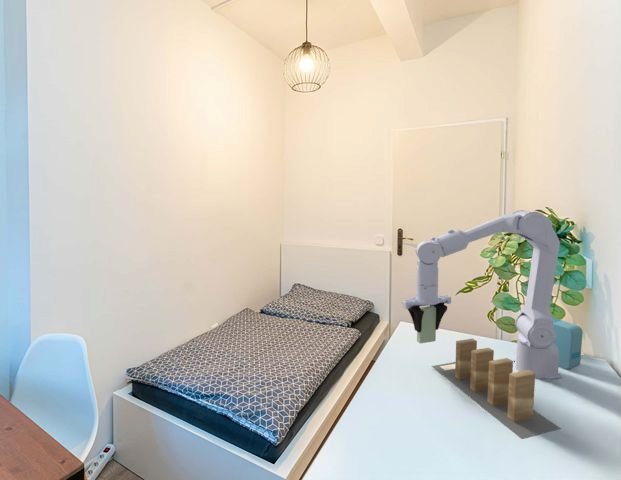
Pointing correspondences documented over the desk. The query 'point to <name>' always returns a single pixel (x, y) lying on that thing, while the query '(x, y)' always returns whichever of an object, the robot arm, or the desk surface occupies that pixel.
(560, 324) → the light blue rounded block
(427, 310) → the green domino
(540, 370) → the robot arm
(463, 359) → the domino
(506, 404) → the board
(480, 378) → the domino
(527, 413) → the domino
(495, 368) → the domino
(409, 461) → the desk surface
